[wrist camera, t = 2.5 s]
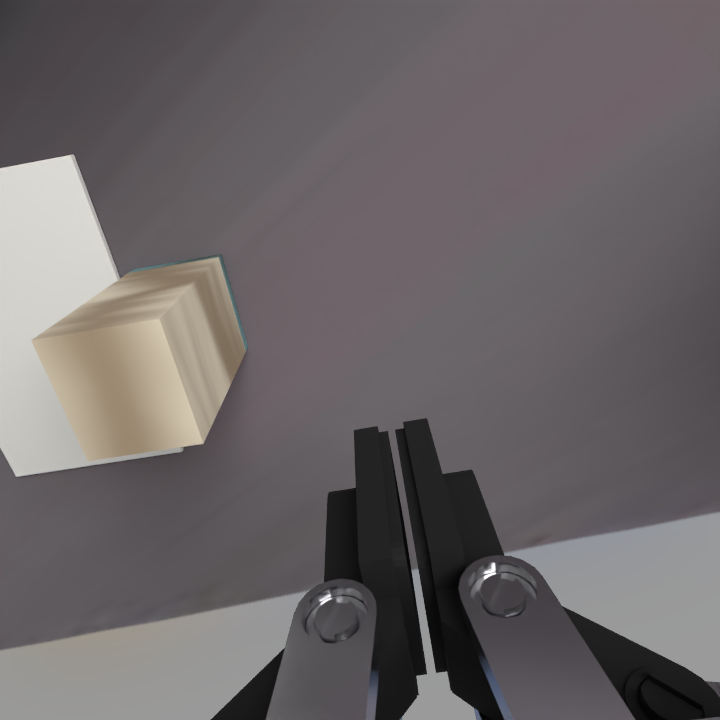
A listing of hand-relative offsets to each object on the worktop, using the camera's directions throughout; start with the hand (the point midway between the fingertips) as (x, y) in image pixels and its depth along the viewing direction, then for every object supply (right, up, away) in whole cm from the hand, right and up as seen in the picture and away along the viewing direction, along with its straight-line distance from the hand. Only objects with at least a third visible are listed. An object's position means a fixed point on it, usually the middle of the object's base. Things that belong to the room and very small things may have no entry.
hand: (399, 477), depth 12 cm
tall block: (-9, +5, +15) cm, 18 cm away
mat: (-17, +4, +15) cm, 23 cm away
